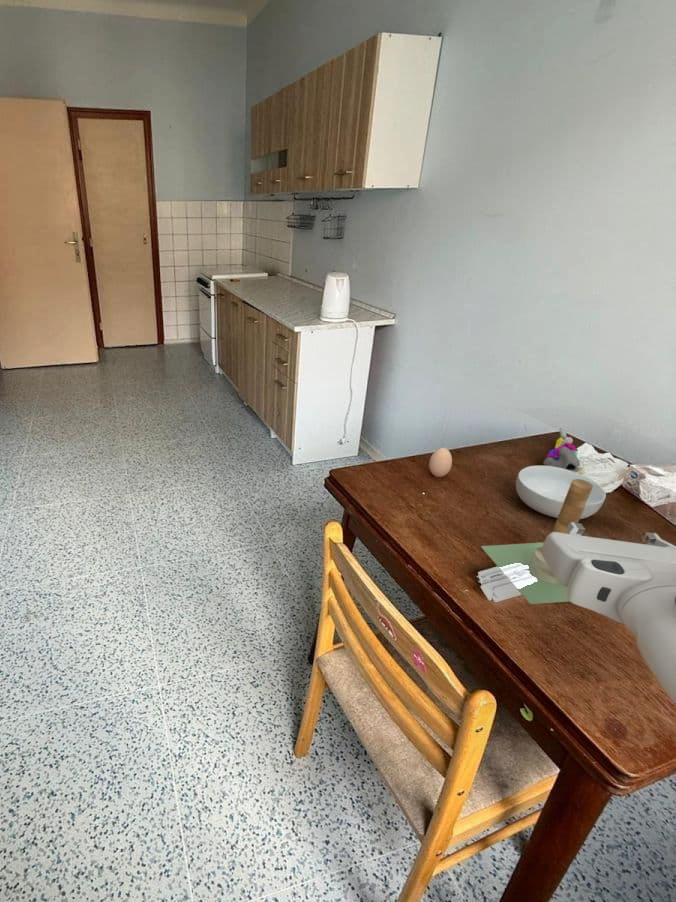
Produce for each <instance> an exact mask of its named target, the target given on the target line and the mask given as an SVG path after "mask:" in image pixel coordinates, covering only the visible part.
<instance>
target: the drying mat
mask: <svg viewBox="0 0 676 902" xmlns="http://www.w3.org/2000/svg"><path fill="white" fill-rule="evenodd" d="M544 542H545V541H542V542H541V541H539V542H526V543H512V544H511V543H510V544H509V543H508V544H495V545H494V544H493V545H480V548H481V549H482V550H483V552H485V553H486V555H487V556H488V557H489V559H491V560H492V562H493V563H494V564H495V565H496V567H497V568H499V567H503V566H506V565H510V564H514V563H521V564H523V565H528V566H529V565H530V562H531V559H532V557H533V554H534V551H535V549H536V548H538V547H543V545H544ZM530 574H531V575H532V576H534V575H533V574H532V573H531V572H530ZM534 577H535V576H534ZM537 580H538V581H537V582H534V583H533V584H531V585H527V586H525V587H523V588H521V589H517V591H518V592H519V593H520V595H522V597H523V598H524V599H525V600H526V601H527V602H528V604H529V605H536V604H537V605H539V604H551V603H565V602H566V603H567V602H570V601H569V600H568V598H567V596H566V591H567V587H566V586H564V585H562V584H561V583H560V584H552V583H547V582H544V581H542V580H540V579H538V578H537Z"/></svg>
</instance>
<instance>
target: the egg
mask: <svg viewBox="0 0 676 902" xmlns="http://www.w3.org/2000/svg"><path fill="white" fill-rule="evenodd" d="M452 465H453V458H452V454H451V452H450V450H449V449H448V448H446V447H439V448H438V449H436V450H435V451H434V452H433V453H432V455H431V456H430V458H429V463H428V468H429V471H430V473H431V474H432V476H434V477H436V478H442V477H444V476H446V475H447V474H448V473H449V472H450V471H451V469H452Z"/></svg>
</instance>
